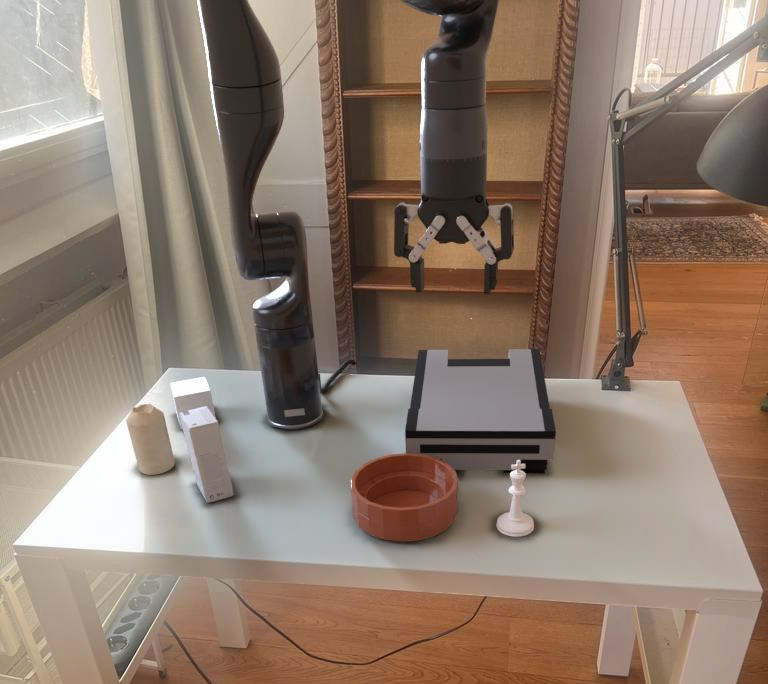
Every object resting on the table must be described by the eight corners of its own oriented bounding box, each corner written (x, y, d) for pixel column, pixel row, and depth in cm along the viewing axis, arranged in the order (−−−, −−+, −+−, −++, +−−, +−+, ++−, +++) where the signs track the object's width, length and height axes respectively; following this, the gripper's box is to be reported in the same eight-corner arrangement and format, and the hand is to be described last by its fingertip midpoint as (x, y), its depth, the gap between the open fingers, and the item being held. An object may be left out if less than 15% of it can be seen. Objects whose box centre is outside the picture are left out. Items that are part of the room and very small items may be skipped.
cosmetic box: (235, 496, 113) (221, 421, 106) (205, 504, 112) (189, 429, 105) (223, 476, 118) (209, 404, 111) (194, 484, 116) (178, 411, 109)
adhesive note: (211, 408, 138) (205, 376, 134) (216, 422, 133) (210, 390, 129) (176, 414, 136) (169, 382, 133) (180, 429, 131) (173, 397, 128)
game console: (536, 386, 138) (539, 342, 134) (551, 481, 112) (555, 431, 108) (419, 386, 141) (418, 343, 136) (406, 480, 114) (405, 430, 110)
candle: (165, 476, 119) (151, 417, 113) (132, 474, 120) (116, 415, 114) (180, 458, 123) (167, 400, 118) (148, 456, 124) (134, 398, 119)
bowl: (369, 482, 114) (366, 449, 111) (465, 491, 111) (466, 457, 108) (340, 538, 103) (337, 503, 100) (447, 550, 100) (447, 514, 97)
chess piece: (492, 517, 105) (495, 452, 100) (529, 514, 106) (533, 449, 100) (500, 538, 101) (503, 472, 96) (538, 535, 102) (543, 469, 96)
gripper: (520, 143, 90) (514, 283, 99) (399, 144, 93) (404, 280, 102) (513, 156, 84) (507, 304, 93) (384, 156, 87) (390, 299, 96)
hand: (453, 291), depth 97 cm, fingers open, 8 cm apart
